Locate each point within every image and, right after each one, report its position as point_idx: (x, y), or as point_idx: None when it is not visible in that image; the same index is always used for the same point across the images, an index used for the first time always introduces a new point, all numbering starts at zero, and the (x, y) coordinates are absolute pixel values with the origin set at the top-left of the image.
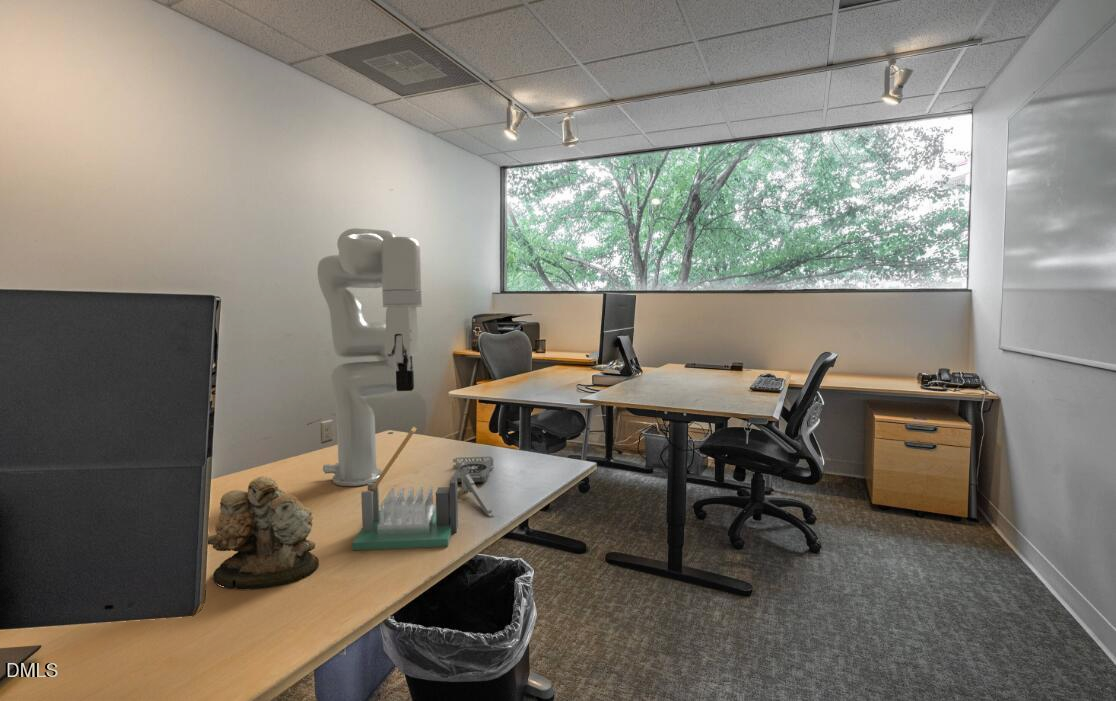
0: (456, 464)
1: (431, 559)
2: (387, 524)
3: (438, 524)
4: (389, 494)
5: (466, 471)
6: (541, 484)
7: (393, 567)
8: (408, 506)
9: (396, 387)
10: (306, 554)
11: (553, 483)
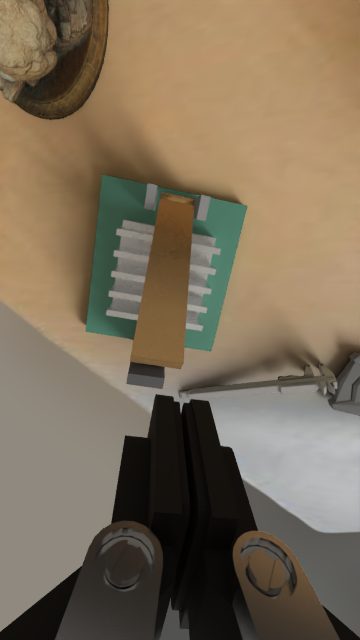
0: None
1: (49, 302)
2: (122, 238)
3: None
4: None
5: (322, 389)
6: (288, 476)
7: (31, 247)
8: None
9: (155, 404)
10: (54, 88)
11: (285, 491)
